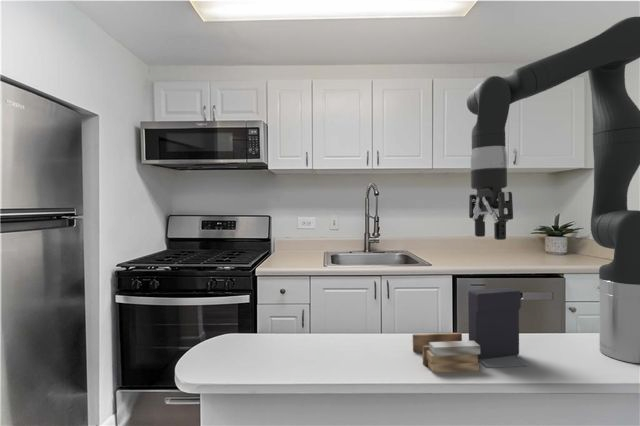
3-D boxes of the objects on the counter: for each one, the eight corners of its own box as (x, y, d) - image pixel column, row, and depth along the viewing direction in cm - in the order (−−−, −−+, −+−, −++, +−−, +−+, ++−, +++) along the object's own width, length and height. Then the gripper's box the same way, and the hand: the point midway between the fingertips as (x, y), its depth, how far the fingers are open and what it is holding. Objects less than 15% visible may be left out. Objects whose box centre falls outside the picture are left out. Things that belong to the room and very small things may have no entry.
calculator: (507, 348, 82) (507, 286, 81) (521, 356, 77) (521, 290, 77) (466, 353, 80) (465, 289, 79) (478, 361, 75) (477, 293, 75)
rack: (460, 348, 83) (460, 332, 83) (476, 363, 75) (476, 345, 75) (412, 350, 82) (412, 334, 82) (423, 365, 75) (423, 347, 75)
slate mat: (495, 343, 86) (495, 342, 86) (526, 365, 74) (526, 364, 74) (460, 345, 85) (460, 343, 85) (486, 367, 73) (486, 365, 73)
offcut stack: (473, 364, 75) (473, 340, 75) (480, 371, 72) (480, 345, 72) (426, 366, 74) (426, 342, 74) (431, 373, 72) (431, 347, 71)
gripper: (524, 163, 72) (525, 240, 72) (487, 171, 86) (488, 235, 86) (489, 164, 71) (490, 241, 72) (458, 171, 86) (459, 235, 86)
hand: (489, 237), depth 79 cm, fingers open, 8 cm apart
